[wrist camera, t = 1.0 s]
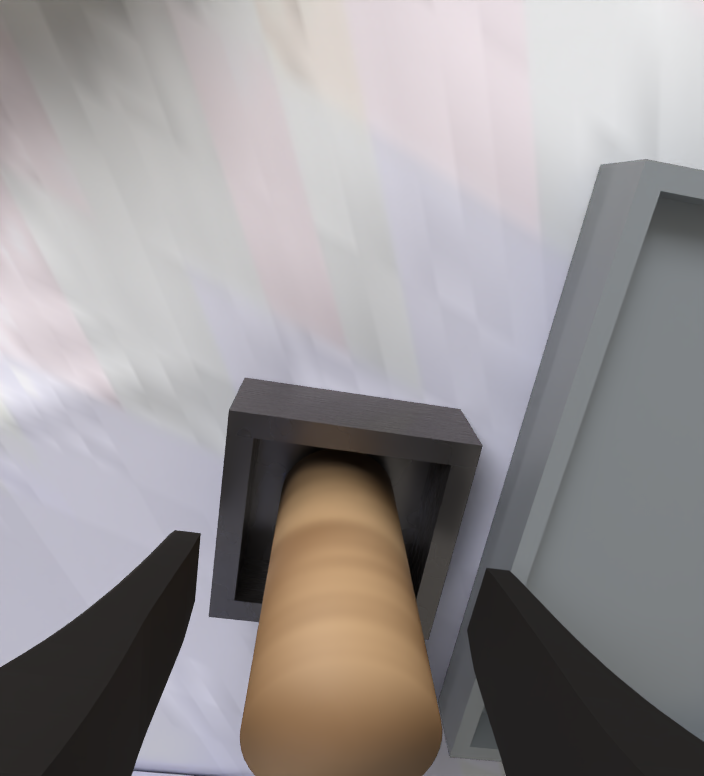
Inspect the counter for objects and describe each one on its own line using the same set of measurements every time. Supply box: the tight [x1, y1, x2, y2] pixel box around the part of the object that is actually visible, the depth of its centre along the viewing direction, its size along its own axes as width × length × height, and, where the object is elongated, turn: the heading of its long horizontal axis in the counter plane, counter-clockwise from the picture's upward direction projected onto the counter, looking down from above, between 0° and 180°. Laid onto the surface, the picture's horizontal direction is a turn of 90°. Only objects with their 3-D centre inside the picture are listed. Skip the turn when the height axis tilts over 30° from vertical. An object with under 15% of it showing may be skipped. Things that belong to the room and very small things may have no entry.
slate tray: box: [438, 159, 704, 762], centre depth 17 cm, size 20×12×2 cm, turn 170°
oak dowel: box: [240, 449, 442, 776], centre depth 13 cm, size 4×4×8 cm
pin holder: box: [209, 378, 482, 640], centre depth 16 cm, size 7×7×3 cm
